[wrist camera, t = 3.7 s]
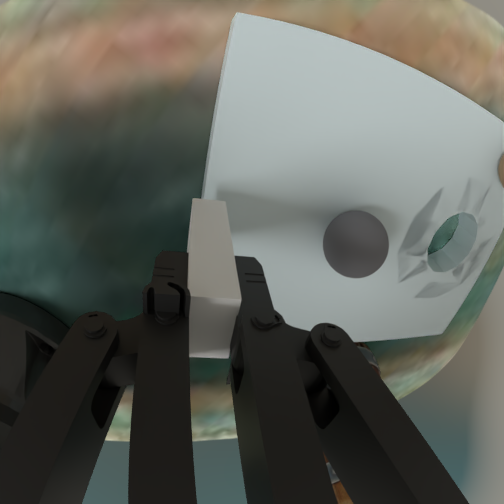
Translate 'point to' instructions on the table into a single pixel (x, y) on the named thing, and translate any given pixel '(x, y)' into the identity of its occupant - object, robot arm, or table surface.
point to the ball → (355, 244)
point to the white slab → (351, 177)
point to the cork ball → (501, 170)
